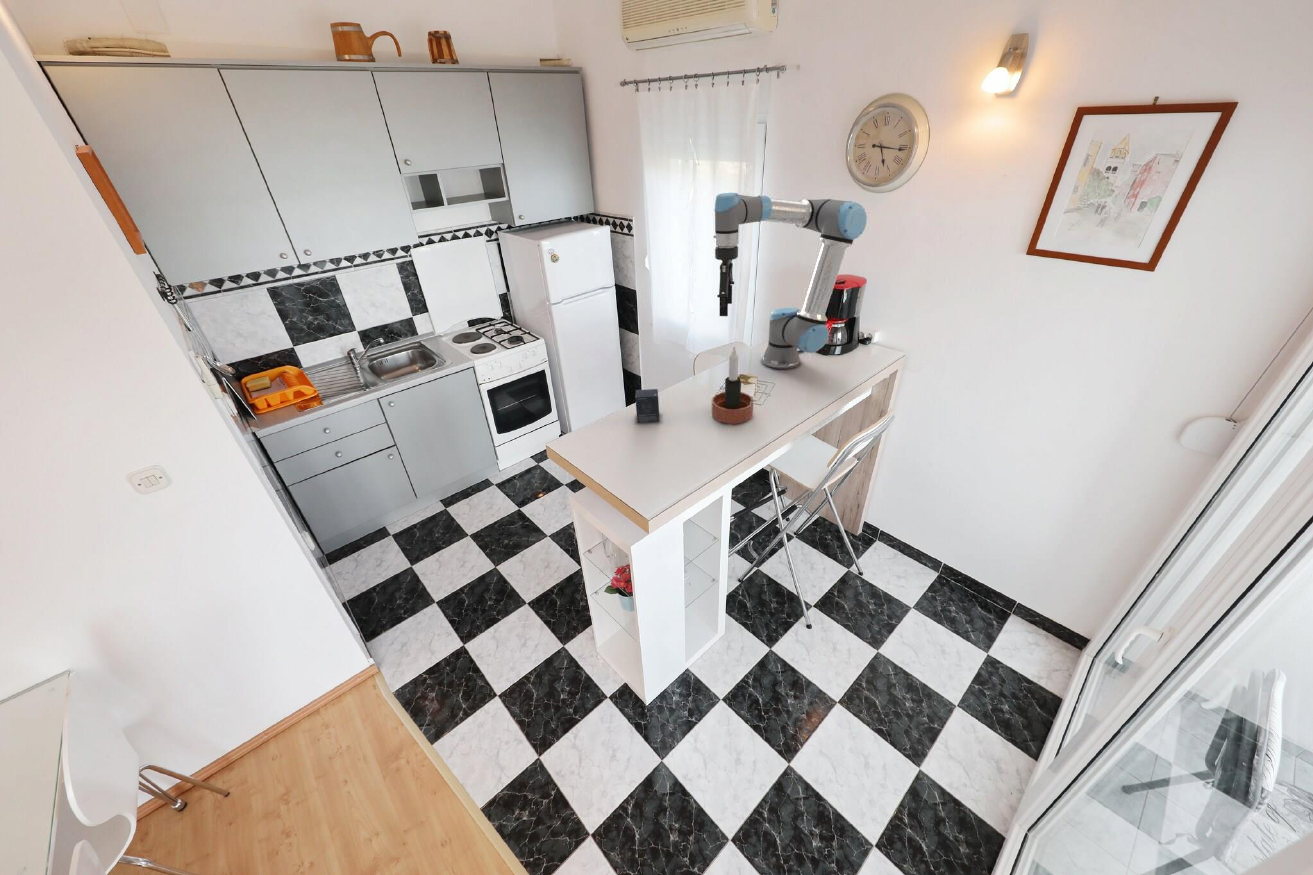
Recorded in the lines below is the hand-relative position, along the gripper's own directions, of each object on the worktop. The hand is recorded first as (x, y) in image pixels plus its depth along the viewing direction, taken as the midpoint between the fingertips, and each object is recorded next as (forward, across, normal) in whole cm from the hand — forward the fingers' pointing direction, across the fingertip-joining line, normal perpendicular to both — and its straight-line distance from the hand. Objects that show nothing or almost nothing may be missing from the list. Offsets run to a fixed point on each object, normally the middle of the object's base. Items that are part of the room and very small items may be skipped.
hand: (725, 309), depth 175 cm
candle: (+32, +16, +4) cm, 36 cm away
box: (+33, +23, -25) cm, 47 cm away
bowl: (+33, +16, +4) cm, 37 cm away
